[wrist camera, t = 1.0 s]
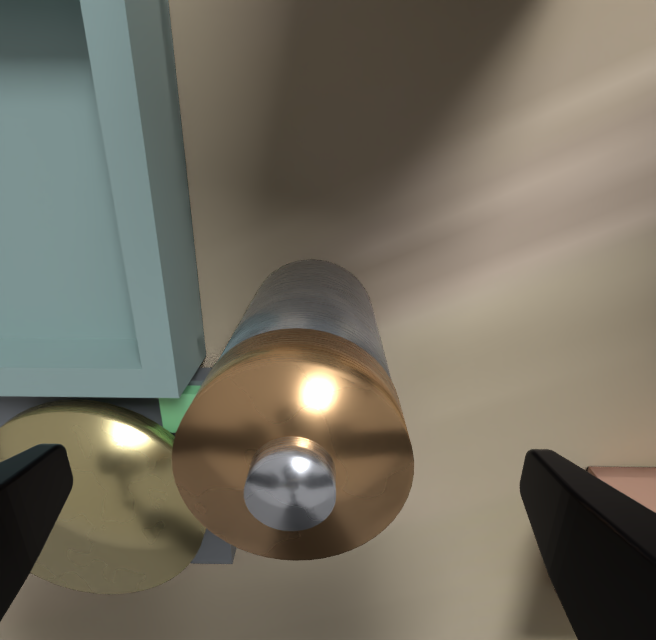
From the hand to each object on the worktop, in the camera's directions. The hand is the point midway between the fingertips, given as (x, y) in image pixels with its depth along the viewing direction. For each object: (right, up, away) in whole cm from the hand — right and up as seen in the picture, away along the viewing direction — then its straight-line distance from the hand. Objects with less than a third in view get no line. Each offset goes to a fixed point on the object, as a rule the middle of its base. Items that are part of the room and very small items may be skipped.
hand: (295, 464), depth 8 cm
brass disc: (-8, -4, +8) cm, 12 cm away
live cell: (0, +3, +7) cm, 8 cm away
